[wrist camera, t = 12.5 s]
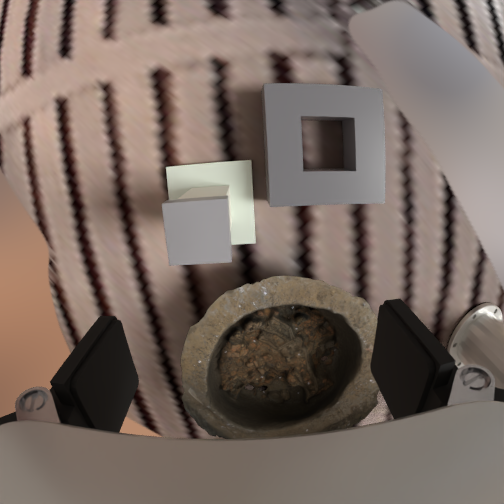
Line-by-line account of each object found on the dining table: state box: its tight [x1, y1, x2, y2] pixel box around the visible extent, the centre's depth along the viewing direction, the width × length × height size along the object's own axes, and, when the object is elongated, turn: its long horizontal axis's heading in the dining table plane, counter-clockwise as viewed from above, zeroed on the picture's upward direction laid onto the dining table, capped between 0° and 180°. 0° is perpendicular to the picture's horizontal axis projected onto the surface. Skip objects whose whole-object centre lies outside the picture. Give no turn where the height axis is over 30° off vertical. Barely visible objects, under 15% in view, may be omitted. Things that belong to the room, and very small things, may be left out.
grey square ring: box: [261, 83, 385, 207], centre depth 30 cm, size 12×12×4 cm
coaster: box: [166, 160, 256, 245], centre depth 33 cm, size 9×9×1 cm
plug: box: [162, 185, 232, 266], centre depth 27 cm, size 5×5×12 cm
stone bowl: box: [180, 275, 380, 439], centre depth 36 cm, size 25×25×9 cm
